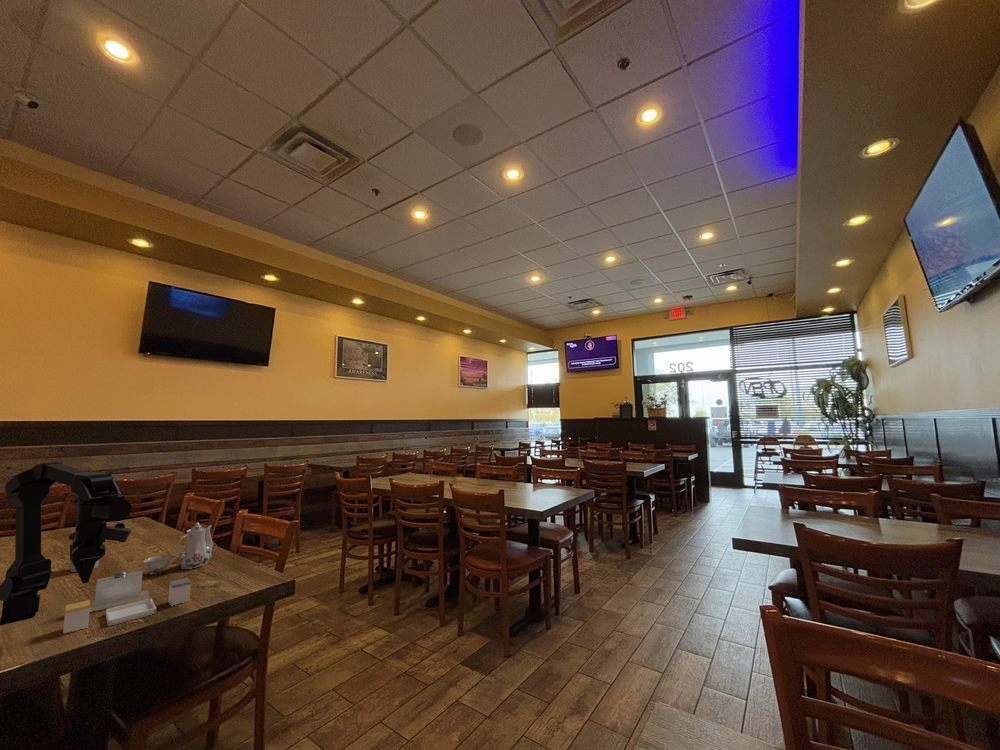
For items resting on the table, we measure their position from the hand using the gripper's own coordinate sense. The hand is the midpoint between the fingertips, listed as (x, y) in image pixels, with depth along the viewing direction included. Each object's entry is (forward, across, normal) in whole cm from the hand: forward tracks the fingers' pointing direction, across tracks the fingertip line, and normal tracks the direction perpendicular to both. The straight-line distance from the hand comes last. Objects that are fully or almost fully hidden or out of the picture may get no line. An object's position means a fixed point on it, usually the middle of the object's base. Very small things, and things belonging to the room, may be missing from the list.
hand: (85, 578), depth 111 cm
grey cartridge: (+12, -1, -21) cm, 25 cm away
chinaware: (+12, +37, -29) cm, 49 cm away
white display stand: (+12, +11, -8) cm, 18 cm away
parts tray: (+12, -1, -10) cm, 16 cm away
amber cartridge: (+12, -1, +1) cm, 12 cm away
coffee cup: (+12, +60, -1) cm, 61 cm away
